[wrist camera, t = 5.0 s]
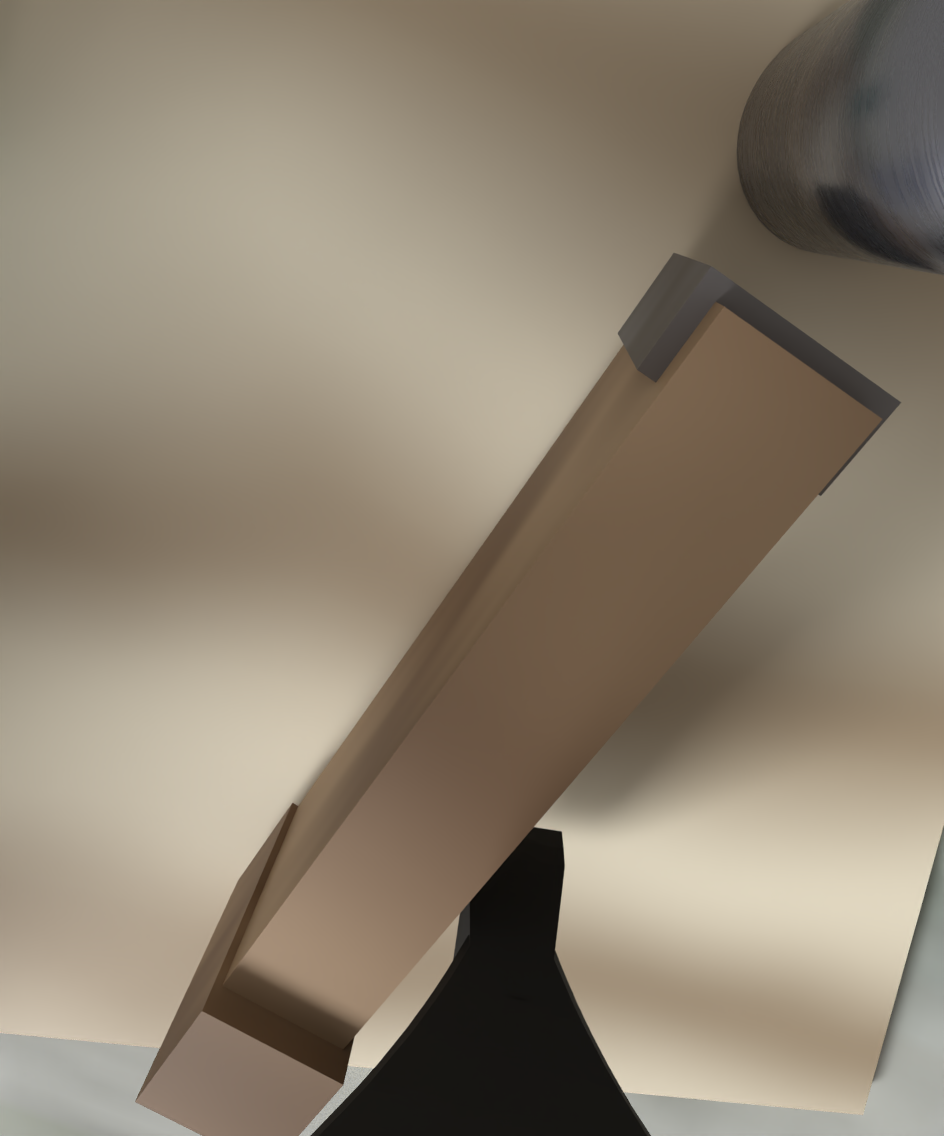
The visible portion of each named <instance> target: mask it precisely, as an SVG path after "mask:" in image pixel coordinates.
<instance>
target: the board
mask: <svg viewBox="0 0 944 1136" xmlns="http://www.w3.org/2000/svg"><path fill="white" fill-rule="evenodd" d="M848 1H850V0H0V1033H7V1034H17V1035H28V1036H38V1037H49V1038H59V1039H70V1040H80V1041H91V1042H101V1043H112V1044H122V1045H133V1046H143V1047H154V1048H160V1047H161V1045H162V1043H163V1041H164V1038H165V1036H166V1034H167V1032H168V1030H169V1028H170V1026H171V1023H172V1021H173V1019H174V1017H175V1015H176V1013H177V1010H178V1008H179V1006H180V1004H181V1002H182V1000H183V998H184V995H185V993H186V991H187V989H188V987H189V985H190V983H191V980H192V978H193V976H194V974H195V972H196V970H197V967H198V965H199V963H200V961H201V959H202V957H203V955H204V952H205V950H206V948H207V946H208V944H209V942H210V940H211V937H212V935H213V933H214V931H215V929H216V927H217V924H218V922H219V920H220V918H221V916H222V914H223V912H224V909H225V907H226V905H227V903H228V901H229V899H230V896H231V894H232V892H233V890H234V888H235V886H236V884H237V881H238V880H239V878H240V877H241V875H242V874H243V873H244V871H245V870H246V868H247V867H248V865H249V864H250V863H251V861H252V860H253V858H254V857H255V855H256V854H257V853H258V851H259V850H260V848H261V847H262V845H263V844H264V843H265V841H266V840H267V838H268V837H269V835H270V834H271V833H272V831H273V830H274V828H275V827H276V825H277V824H278V823H279V821H280V820H281V818H282V817H283V815H284V814H285V813H286V811H287V810H288V808H289V807H290V805H291V804H292V803H294V804H296V805H297V806H299V804H300V803H301V801H302V800H303V799H304V797H305V796H306V794H307V793H308V792H309V790H310V789H311V787H312V786H313V784H314V783H315V782H316V780H317V779H318V777H319V776H320V774H321V773H322V772H323V770H324V769H325V767H326V766H327V765H328V763H329V762H330V760H331V759H332V757H333V756H334V755H335V753H336V752H337V750H338V749H339V748H340V746H341V745H342V743H343V742H344V740H345V739H346V738H347V736H348V735H349V733H350V732H351V731H352V729H353V728H354V726H355V725H356V723H357V722H358V721H359V719H360V718H361V716H362V715H363V713H364V712H365V711H366V709H367V708H368V706H369V705H370V704H371V702H372V701H373V699H374V698H375V696H376V695H377V694H378V692H379V691H380V689H381V688H382V687H383V685H384V684H385V682H386V681H387V679H388V678H389V677H390V675H391V674H392V672H393V671H394V670H395V668H396V667H397V665H398V664H399V662H400V661H401V660H402V658H403V657H404V655H405V654H406V652H407V651H408V650H409V648H410V647H411V645H412V644H413V643H414V641H415V640H416V638H417V637H418V635H419V634H420V633H421V631H422V630H423V628H424V627H425V626H426V624H427V623H428V621H429V620H430V618H431V617H432V616H433V614H434V613H435V611H436V610H437V608H438V607H439V606H440V604H441V603H442V601H443V600H444V599H445V597H446V596H447V594H448V593H449V591H450V590H451V589H452V587H453V586H454V584H455V583H456V582H457V580H458V579H459V577H460V576H461V574H462V573H463V572H464V570H465V569H466V567H467V566H468V565H469V563H470V562H471V560H472V559H473V557H474V556H475V555H476V553H477V552H478V550H479V549H480V547H481V546H482V545H483V543H484V542H485V540H486V539H487V538H488V536H489V535H490V533H491V532H492V530H493V529H494V528H495V526H496V525H497V523H498V522H499V521H500V519H501V518H502V516H503V515H504V513H505V512H506V511H507V509H508V508H509V506H510V505H511V504H512V502H513V501H514V499H515V498H516V496H517V495H518V494H519V492H520V491H521V489H522V488H523V486H524V485H525V484H526V482H527V481H528V479H529V478H530V477H531V475H532V474H533V472H534V471H535V469H536V468H537V467H538V465H539V464H540V462H541V461H542V460H543V458H544V457H545V455H546V454H547V452H548V451H549V450H550V448H551V447H552V445H553V444H554V442H555V441H556V440H557V438H558V437H559V435H560V434H561V433H562V431H563V430H564V428H565V427H566V425H567V424H568V423H569V421H570V420H571V418H572V417H573V416H574V414H575V413H576V411H577V410H578V408H579V407H580V406H581V404H582V403H583V401H584V400H585V399H586V397H587V396H588V394H589V393H590V391H591V390H592V389H593V387H594V386H595V384H596V383H597V381H598V380H599V379H600V377H601V376H602V374H603V373H604V372H605V370H606V369H607V367H608V366H609V364H610V363H611V362H612V360H613V359H614V357H615V356H616V355H617V353H618V352H619V350H620V349H621V347H622V346H623V345H624V344H623V343H622V341H621V339H620V337H619V335H618V332H619V330H620V329H621V327H622V326H623V325H624V323H625V322H626V320H627V319H628V317H629V316H630V315H631V313H632V312H633V310H634V309H635V307H636V306H637V305H638V303H639V302H640V300H641V299H642V297H643V296H644V295H645V293H646V292H647V290H648V289H649V287H650V286H651V284H652V283H653V282H654V280H655V279H656V277H657V276H658V274H659V273H660V272H661V270H662V269H663V267H664V266H665V264H666V263H667V262H668V260H669V259H670V257H671V256H672V254H673V253H677V254H680V255H682V256H685V257H688V258H691V259H693V260H696V261H699V262H702V263H704V264H707V265H710V266H712V267H714V268H715V269H716V270H718V271H719V272H721V273H722V274H723V275H725V276H726V277H727V278H729V279H730V280H732V281H733V282H734V283H736V284H737V285H739V286H740V287H741V288H743V289H744V290H746V291H747V292H748V293H750V294H751V295H753V296H754V297H755V298H757V299H758V300H759V301H761V302H762V303H764V304H765V305H766V306H768V307H769V308H771V309H772V310H773V311H775V312H776V313H778V314H779V315H780V316H782V317H783V318H785V319H786V320H787V321H789V322H790V323H791V324H793V325H794V326H796V327H797V328H798V329H800V330H801V331H803V332H804V333H805V334H807V335H808V336H810V337H811V338H812V339H814V340H815V341H817V342H818V343H819V344H821V345H822V346H823V347H825V348H826V349H828V350H829V351H830V352H832V353H833V354H835V355H836V356H837V357H839V358H840V359H842V360H843V361H844V362H846V363H847V364H849V365H850V366H851V367H853V368H854V369H855V370H857V371H858V372H860V373H861V374H862V375H864V376H865V377H867V378H868V379H869V380H871V381H872V382H874V383H875V384H876V385H878V386H879V387H881V388H882V389H883V390H885V391H886V392H887V393H889V394H890V395H892V396H893V397H894V398H896V399H897V400H899V401H900V402H901V403H900V405H899V406H898V407H897V408H896V409H895V410H894V412H893V413H892V414H891V415H890V416H889V417H888V419H887V420H886V421H885V422H884V423H883V424H882V426H881V427H880V428H879V429H878V430H877V431H876V433H875V434H874V435H873V436H872V437H871V438H870V440H869V441H868V442H867V443H866V444H865V445H864V447H863V448H862V449H861V450H860V451H859V452H858V454H857V455H856V456H855V457H854V458H853V459H852V461H851V462H850V463H849V464H848V465H847V466H846V468H845V469H844V470H843V471H842V472H841V473H840V475H839V476H838V477H837V478H836V479H835V480H834V482H833V483H832V484H831V485H830V486H829V487H828V489H827V490H826V491H825V492H824V493H823V494H822V496H820V495H817V497H816V498H815V499H814V500H813V501H812V502H811V504H810V505H809V506H808V507H807V508H806V509H805V511H804V512H803V513H802V514H801V515H800V516H799V518H798V519H797V520H796V521H795V522H794V523H793V525H792V526H791V527H790V528H789V529H788V530H787V532H786V533H785V534H784V535H783V536H782V537H781V539H780V540H779V541H778V542H777V543H776V544H775V546H774V547H773V548H772V549H771V550H770V551H769V553H768V554H767V555H766V556H765V557H764V558H763V560H762V561H761V562H760V563H759V564H758V565H757V567H756V568H755V569H754V570H753V571H752V573H751V574H750V575H749V576H748V577H747V578H746V580H745V581H744V582H743V583H742V584H741V585H740V587H739V588H738V589H737V590H736V591H735V592H734V594H733V595H732V596H731V597H730V598H729V599H728V601H727V602H726V603H725V604H724V605H723V606H722V608H721V609H720V610H719V611H718V612H717V613H716V615H715V616H714V617H713V618H712V619H711V620H710V622H709V623H708V624H707V625H706V626H705V627H704V629H703V630H702V631H701V632H700V633H699V634H698V636H697V637H696V638H695V639H694V640H693V641H692V643H691V644H690V645H689V646H688V647H687V648H686V650H685V651H684V652H683V653H682V654H681V656H680V657H679V658H678V659H677V660H676V661H675V663H674V664H673V665H672V666H671V667H670V668H669V670H668V671H667V672H666V673H665V674H664V675H663V677H662V678H661V679H660V680H659V681H658V682H657V684H656V685H655V686H654V687H653V688H652V689H651V691H650V692H649V693H648V694H647V695H646V696H645V698H644V699H643V700H642V701H641V702H640V703H639V705H638V706H637V707H636V708H635V709H634V710H633V712H632V713H631V714H630V715H629V716H628V717H627V719H626V720H625V721H624V722H623V723H622V724H621V726H620V727H619V728H618V729H617V730H616V731H615V733H614V734H613V735H612V736H611V737H610V738H609V740H608V741H607V742H606V743H605V744H604V746H603V747H602V748H601V749H600V750H599V751H598V753H597V754H596V755H595V756H594V757H593V758H592V760H591V761H590V762H589V763H588V764H587V765H586V767H585V768H584V769H583V770H582V771H581V772H580V774H579V775H578V776H577V777H576V778H575V779H574V781H573V782H572V783H571V784H570V785H569V786H568V788H567V789H566V790H565V791H564V792H563V793H562V795H561V796H560V797H559V798H558V799H557V800H556V802H555V803H554V804H553V805H552V806H551V807H550V809H549V810H548V811H547V812H546V813H545V814H544V816H543V817H542V818H541V819H540V820H539V821H538V823H537V824H536V825H535V826H534V827H537V828H543V829H550V830H556V831H562V838H563V847H564V860H565V870H564V879H563V888H562V896H561V905H560V913H559V922H558V930H557V938H556V947H555V951H556V953H557V956H558V958H559V961H560V963H561V966H562V969H563V971H564V973H565V976H566V978H567V980H568V983H569V985H570V987H571V990H572V992H573V994H574V997H575V999H576V1001H577V1004H578V1006H579V1008H580V1010H581V1012H582V1014H583V1016H584V1019H585V1021H586V1023H587V1025H588V1027H589V1029H590V1031H591V1033H592V1035H593V1037H594V1039H595V1041H596V1043H597V1045H598V1047H599V1048H600V1050H601V1052H602V1054H603V1056H604V1058H605V1060H606V1062H607V1064H608V1066H609V1067H610V1069H611V1071H612V1073H613V1074H614V1076H615V1078H616V1080H617V1081H618V1083H619V1085H620V1087H621V1088H622V1090H623V1092H627V1093H638V1094H649V1095H659V1096H670V1097H680V1098H691V1099H701V1100H712V1101H722V1102H733V1103H743V1104H754V1105H764V1106H775V1107H785V1108H796V1109H806V1110H817V1111H827V1112H838V1113H848V1114H859V1115H863V1113H864V1109H865V1106H866V1102H867V1099H868V1095H869V1091H870V1088H871V1084H872V1081H873V1077H874V1073H875V1070H876V1066H877V1063H878V1059H879V1056H880V1052H881V1048H882V1045H883V1041H884V1038H885V1034H886V1030H887V1027H888V1023H889V1020H890V1016H891V1013H892V1009H893V1005H894V1002H895V998H896V995H897V991H898V987H899V984H900V980H901V977H902V973H903V970H904V966H905V962H906V959H907V955H908V952H909V948H910V944H911V941H912V937H913V934H914V930H915V927H916V923H917V919H918V916H919V912H920V909H921V905H922V901H923V898H924V894H925V891H926V887H927V883H928V880H929V876H930V873H931V869H932V866H933V862H934V858H935V855H936V851H937V848H938V844H939V840H940V837H941V833H942V830H943V826H944V275H939V274H933V273H928V272H922V271H916V270H910V269H904V268H898V267H893V266H887V265H881V264H875V263H869V262H863V261H858V260H852V259H846V258H840V257H834V256H828V255H823V254H817V253H812V252H808V251H804V250H801V249H798V248H796V247H793V246H791V245H789V244H787V243H785V242H784V241H782V240H780V239H779V238H777V237H776V236H775V235H774V234H772V233H771V232H770V231H769V230H768V229H767V228H766V227H765V226H764V225H763V224H762V223H761V222H760V221H759V220H758V218H757V217H756V215H755V214H754V212H753V211H752V209H751V208H750V206H749V204H748V201H747V199H746V197H745V195H744V192H743V189H742V186H741V183H740V179H739V173H738V168H737V138H738V131H739V126H740V121H741V118H742V114H743V111H744V108H745V105H746V102H747V100H748V98H749V96H750V93H751V91H752V89H753V87H754V86H755V84H756V82H757V80H758V79H759V77H760V75H761V74H762V73H763V71H764V70H765V69H766V67H767V66H768V65H769V63H770V62H771V61H772V60H773V59H774V58H775V56H776V55H777V54H778V53H779V52H780V51H781V50H782V49H783V48H784V47H786V46H787V45H788V44H789V43H790V42H791V41H793V40H794V39H795V38H796V37H798V36H799V35H801V34H802V33H804V32H805V31H806V30H808V29H809V28H811V27H812V26H814V25H815V24H817V23H818V22H819V21H821V20H822V19H824V18H825V17H827V16H828V15H830V14H831V13H832V12H834V11H835V10H837V9H838V8H840V7H841V6H843V5H844V4H845V3H847V2H848ZM459 916H460V914H459V915H458V916H457V917H456V919H455V920H454V921H453V922H452V923H451V924H450V926H449V927H448V928H447V929H446V930H445V931H444V933H443V934H442V935H441V936H440V937H439V938H438V940H437V941H436V942H435V943H434V944H433V945H432V947H431V948H430V949H429V950H428V951H427V952H426V954H425V955H424V956H423V957H422V958H421V959H420V961H419V962H418V963H417V964H416V965H415V966H414V968H413V969H412V970H411V971H410V972H409V973H408V975H407V976H406V977H405V978H404V979H403V980H402V982H401V983H400V984H399V985H398V986H397V987H396V989H395V990H394V991H393V992H392V993H391V994H390V996H389V997H388V998H387V999H386V1000H385V1002H384V1003H383V1004H382V1005H381V1006H380V1007H379V1009H378V1010H377V1011H376V1012H375V1013H374V1014H373V1016H372V1017H371V1018H370V1019H369V1020H368V1021H367V1023H366V1024H365V1025H364V1026H363V1027H362V1028H361V1030H360V1031H359V1032H358V1033H357V1034H356V1035H355V1037H354V1041H353V1046H352V1050H351V1054H350V1058H349V1063H348V1066H354V1067H364V1068H375V1066H376V1065H377V1064H378V1063H379V1062H380V1061H381V1059H382V1058H383V1057H384V1056H385V1054H386V1053H387V1052H388V1051H389V1049H390V1048H391V1047H392V1046H393V1044H394V1043H395V1042H396V1041H397V1039H398V1038H399V1037H400V1036H401V1035H402V1033H403V1032H404V1031H405V1030H406V1028H407V1027H408V1026H409V1024H410V1023H411V1022H412V1020H413V1019H414V1017H415V1016H416V1015H417V1013H418V1012H419V1011H420V1009H421V1008H422V1007H423V1005H424V1004H425V1002H426V1001H427V1000H428V998H429V997H430V995H431V994H432V992H433V991H434V989H435V988H436V986H437V985H438V983H439V982H440V980H441V979H442V977H443V976H444V974H445V973H446V971H447V969H448V968H449V966H450V964H451V963H452V961H453V957H454V950H455V943H456V936H457V930H458V923H459Z"/></svg>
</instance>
